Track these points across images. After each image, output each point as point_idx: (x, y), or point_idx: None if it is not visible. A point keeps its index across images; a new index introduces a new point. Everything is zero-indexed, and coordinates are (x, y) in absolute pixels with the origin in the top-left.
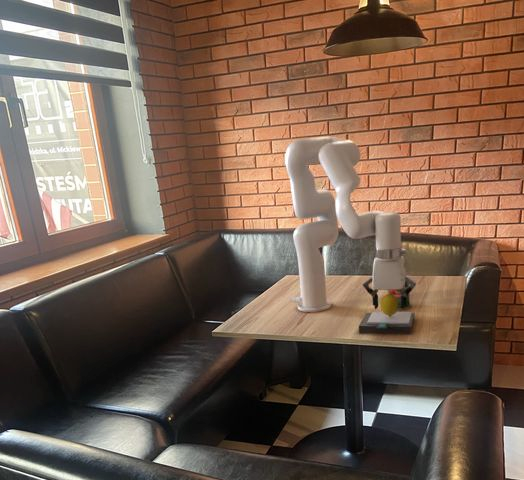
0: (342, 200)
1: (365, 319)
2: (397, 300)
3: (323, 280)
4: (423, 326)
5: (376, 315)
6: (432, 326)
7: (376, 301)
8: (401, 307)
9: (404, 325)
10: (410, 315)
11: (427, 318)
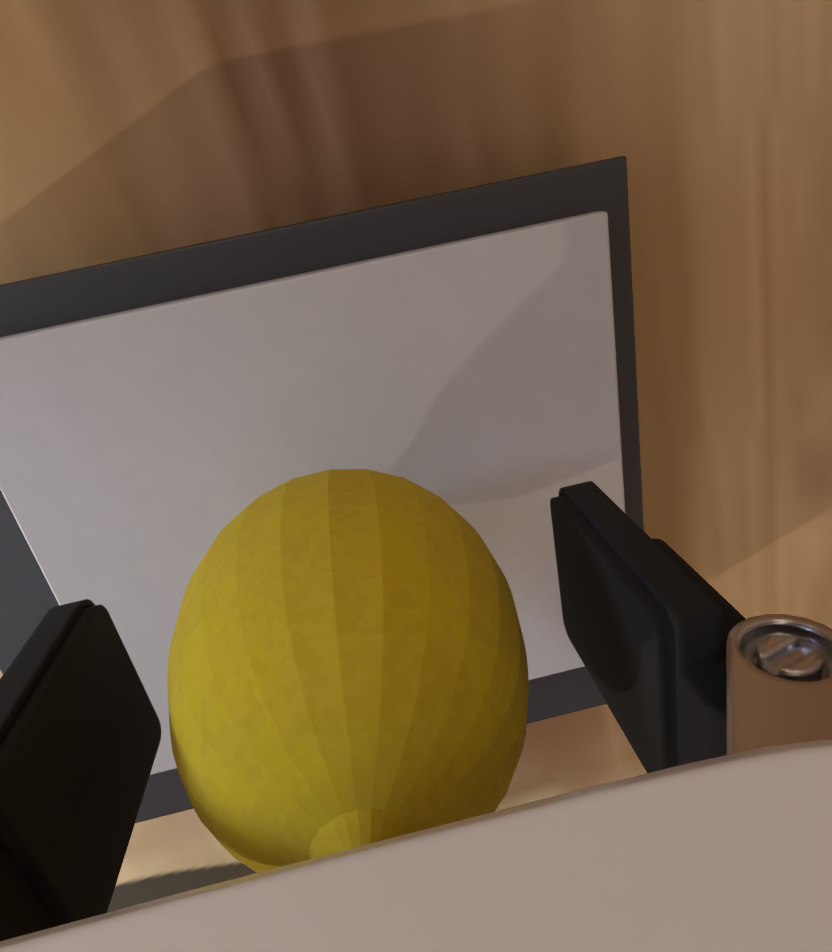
0: None
1: (30, 634)
2: (527, 672)
3: None
4: (709, 393)
5: (120, 522)
6: (802, 368)
7: (119, 856)
8: (576, 642)
9: (585, 684)
10: (611, 403)
11: (738, 41)
